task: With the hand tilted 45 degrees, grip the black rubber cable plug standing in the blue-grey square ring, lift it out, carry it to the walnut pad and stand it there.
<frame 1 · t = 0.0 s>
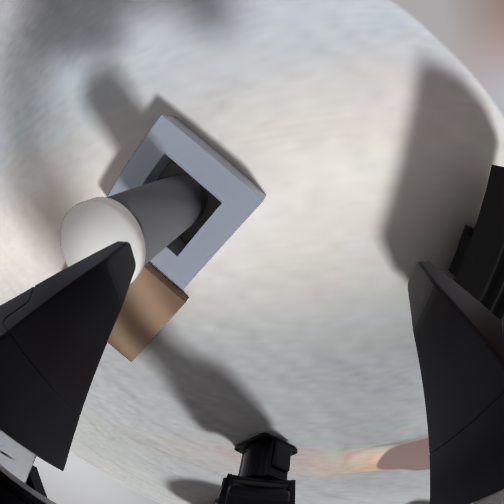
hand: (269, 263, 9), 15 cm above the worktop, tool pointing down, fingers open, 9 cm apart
pad: (115, 293, 29), on the worktop
security camera: (462, 257, 23), on the worktop
blue-grey square ring: (182, 199, 25), on the worktop
plug: (149, 217, 19), in the blue-grey square ring
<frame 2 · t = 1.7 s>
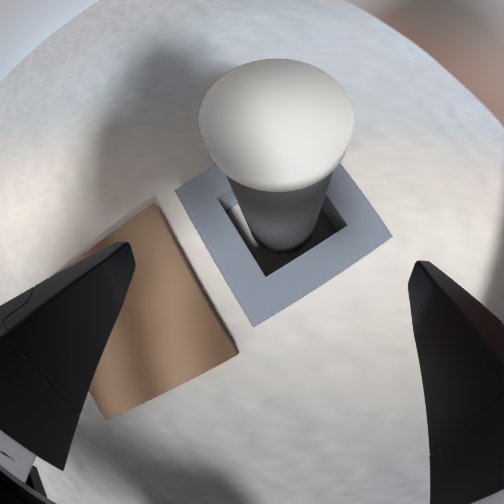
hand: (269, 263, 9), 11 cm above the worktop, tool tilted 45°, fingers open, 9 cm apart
pad: (128, 317, 20), on the worktop
blue-grey square ring: (281, 222, 21), on the worktop
plug: (280, 187, 14), in the blue-grey square ring
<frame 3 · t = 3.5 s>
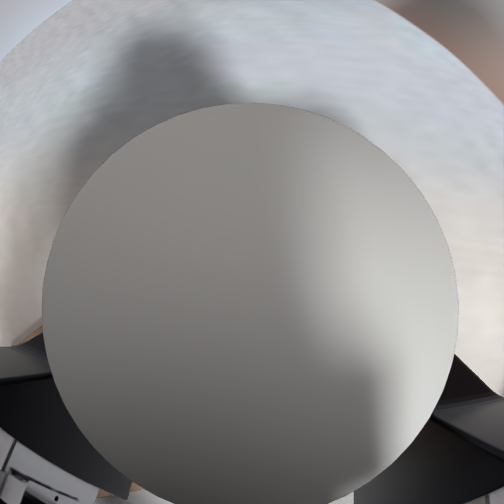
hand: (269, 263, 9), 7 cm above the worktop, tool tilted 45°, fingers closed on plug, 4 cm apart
plug: (266, 310, 9), in the blue-grey square ring, touching gripper
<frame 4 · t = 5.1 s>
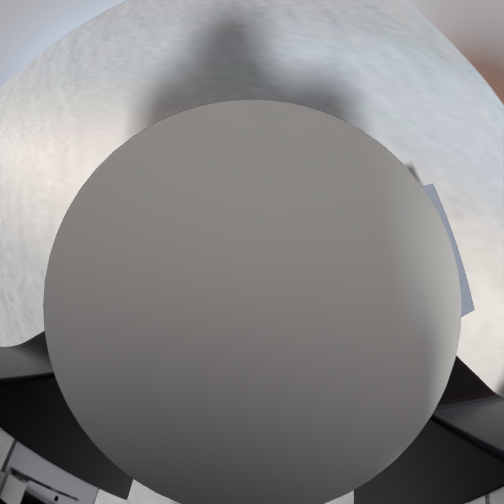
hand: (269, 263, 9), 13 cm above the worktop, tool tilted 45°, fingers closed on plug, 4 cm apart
blue-grey square ring: (391, 271, 21), on the worktop
plug: (267, 309, 9), point 13 cm above the worktop, touching gripper
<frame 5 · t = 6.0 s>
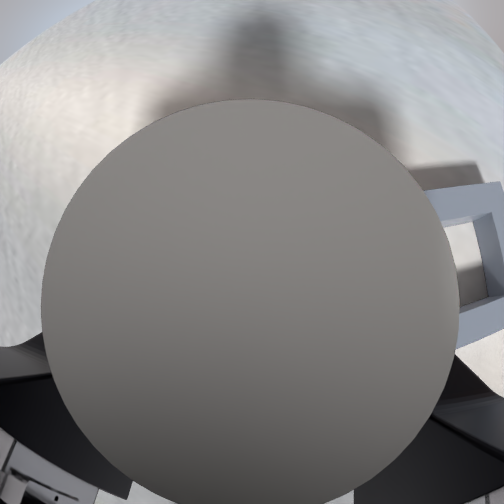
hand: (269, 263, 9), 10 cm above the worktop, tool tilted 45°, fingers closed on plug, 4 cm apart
blue-grey square ring: (454, 266, 18), on the worktop
plug: (266, 309, 9), point 10 cm above the worktop, touching gripper
when the fingers open (8 cm above the worktop, at t = 6.6 s): plug stays where it is, resting on pad.
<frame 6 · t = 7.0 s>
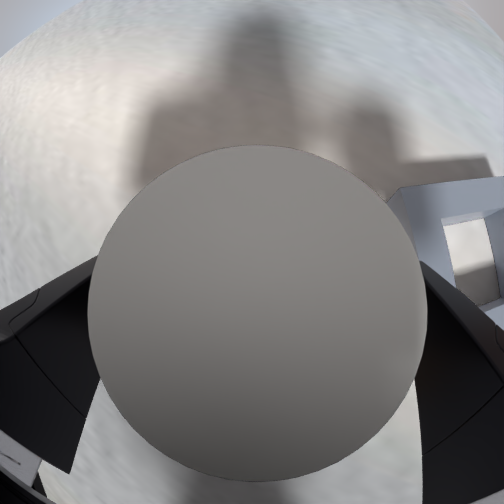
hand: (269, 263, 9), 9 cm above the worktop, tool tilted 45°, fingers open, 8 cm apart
blue-grey square ring: (466, 265, 16), on the worktop
plug: (269, 311, 10), on the pad, point 7 cm above the worktop
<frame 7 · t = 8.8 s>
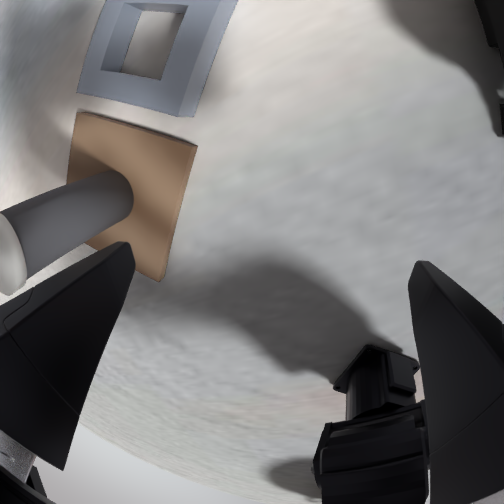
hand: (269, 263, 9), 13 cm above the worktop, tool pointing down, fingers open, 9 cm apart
pad: (119, 192, 24), on the worktop
security camera: (493, 31, 11), on the worktop
blue-grey square ring: (158, 44, 18), on the worktop
plug: (61, 220, 17), on the pad, point 7 cm above the worktop
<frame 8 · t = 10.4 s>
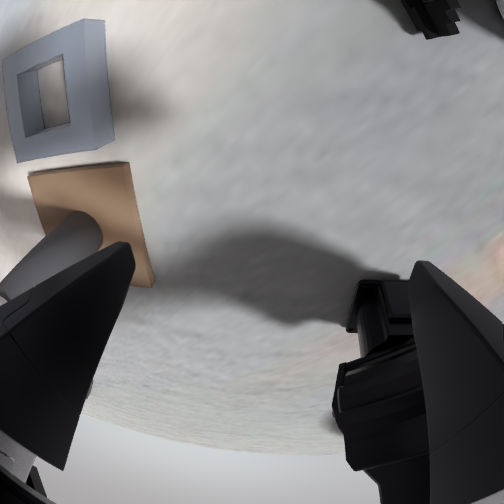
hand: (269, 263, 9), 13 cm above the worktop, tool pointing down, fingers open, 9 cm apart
pad: (89, 226, 25), on the worktop
blue-grey square ring: (61, 92, 18), on the worktop
plug: (45, 272, 20), on the pad, point 7 cm above the worktop
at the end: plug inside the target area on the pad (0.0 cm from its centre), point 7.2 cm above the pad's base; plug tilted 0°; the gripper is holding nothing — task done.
